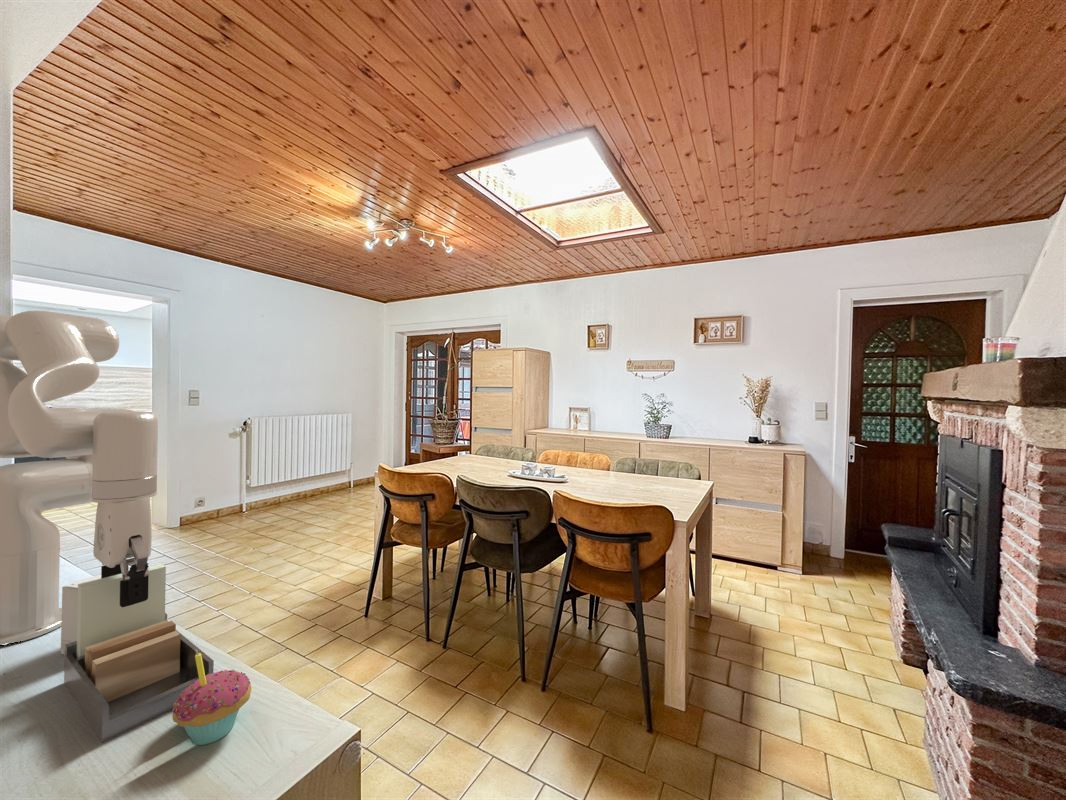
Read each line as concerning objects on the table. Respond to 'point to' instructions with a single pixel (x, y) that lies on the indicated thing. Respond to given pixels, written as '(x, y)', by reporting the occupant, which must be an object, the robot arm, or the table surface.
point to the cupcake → (211, 703)
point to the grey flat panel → (116, 609)
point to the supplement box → (70, 612)
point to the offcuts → (133, 659)
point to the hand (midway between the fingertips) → (124, 595)
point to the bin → (134, 705)
